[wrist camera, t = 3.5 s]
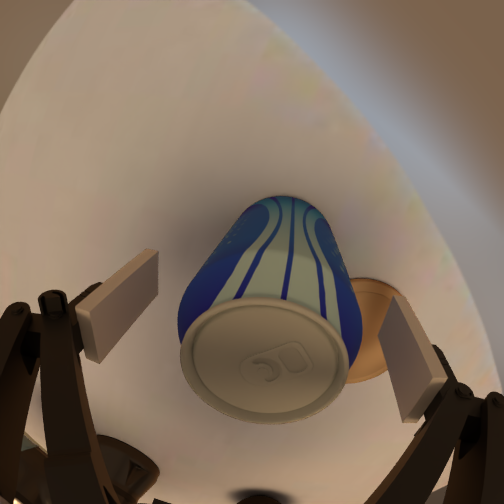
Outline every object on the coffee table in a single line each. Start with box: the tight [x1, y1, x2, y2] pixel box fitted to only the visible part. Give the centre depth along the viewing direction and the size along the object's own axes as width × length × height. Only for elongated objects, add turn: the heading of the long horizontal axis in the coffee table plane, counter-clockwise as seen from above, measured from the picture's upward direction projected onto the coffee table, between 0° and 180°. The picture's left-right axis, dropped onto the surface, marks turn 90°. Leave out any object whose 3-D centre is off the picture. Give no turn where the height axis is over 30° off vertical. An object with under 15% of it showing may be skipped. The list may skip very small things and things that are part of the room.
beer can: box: [178, 196, 363, 424], centre depth 18 cm, size 8×8×16 cm
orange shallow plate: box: [345, 279, 402, 384], centre depth 27 cm, size 12×12×1 cm
